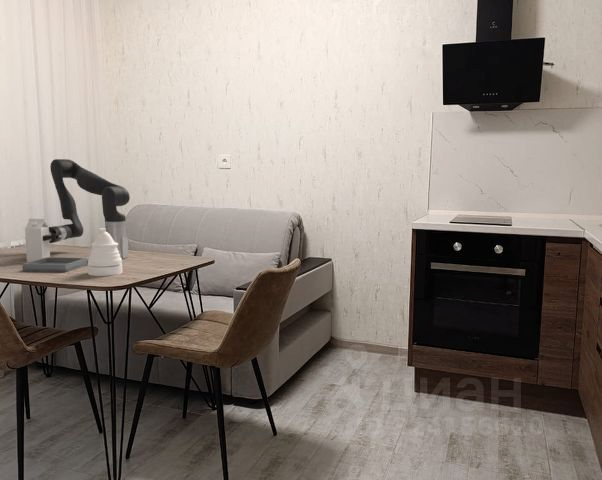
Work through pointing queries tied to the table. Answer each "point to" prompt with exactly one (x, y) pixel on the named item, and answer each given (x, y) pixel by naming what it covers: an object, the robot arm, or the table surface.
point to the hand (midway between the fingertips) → (34, 238)
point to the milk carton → (36, 240)
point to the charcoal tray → (54, 264)
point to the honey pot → (104, 256)
